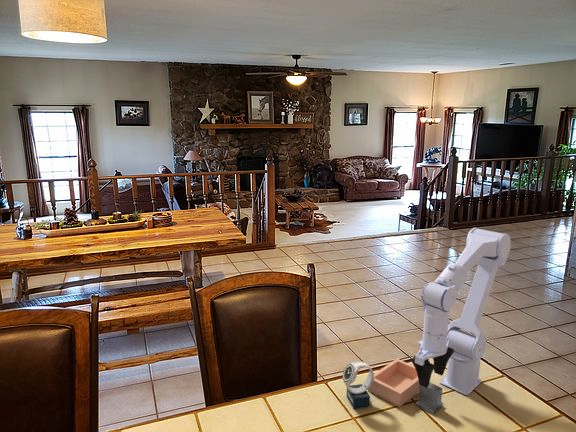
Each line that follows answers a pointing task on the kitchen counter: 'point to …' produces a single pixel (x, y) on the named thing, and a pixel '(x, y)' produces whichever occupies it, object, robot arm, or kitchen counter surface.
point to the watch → (357, 392)
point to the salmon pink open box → (396, 382)
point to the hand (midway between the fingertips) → (431, 379)
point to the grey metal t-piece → (430, 398)
